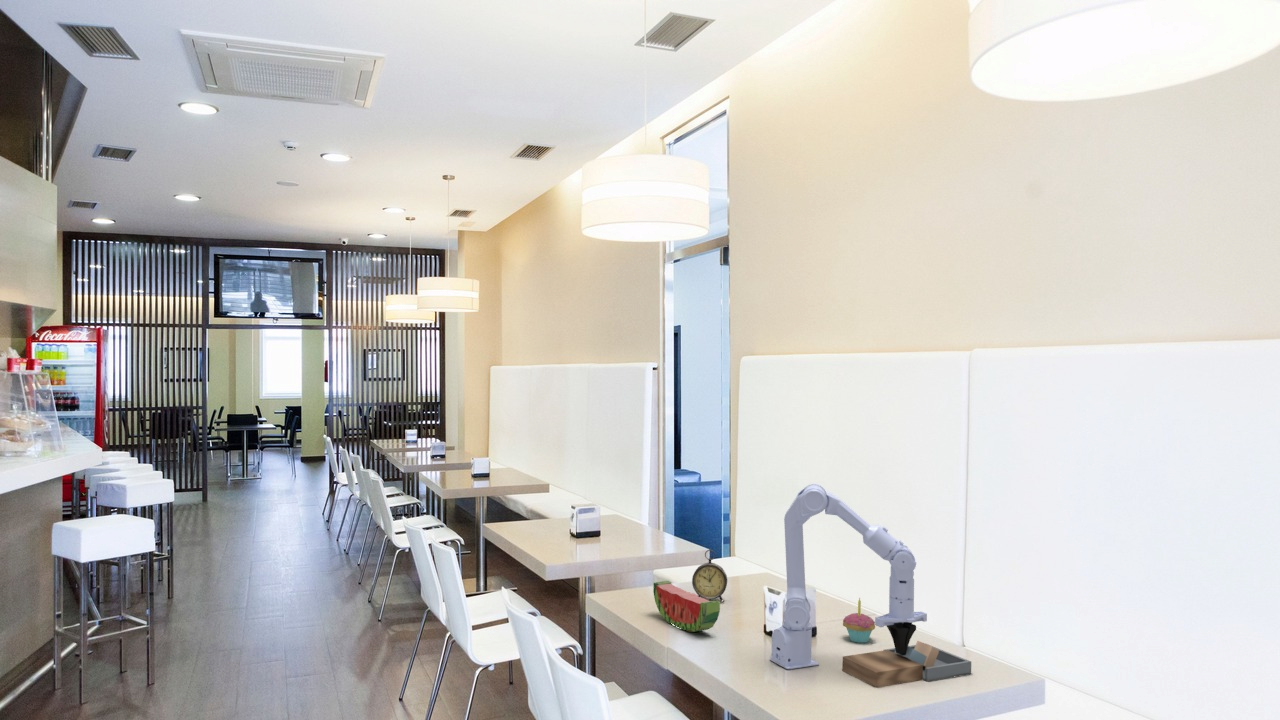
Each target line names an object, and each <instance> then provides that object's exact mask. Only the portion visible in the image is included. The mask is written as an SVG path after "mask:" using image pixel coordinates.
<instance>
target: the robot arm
mask: <svg viewBox="0 0 1280 720" xmlns="http://www.w3.org/2000/svg"><path fill="white" fill-rule="evenodd" d="M823 511H825V513H824V514H825V515H831V516H836V517H838V518H840V520H842V521H843V522H845V523H846V524H847V525H849V526H850V527H851V528H853V529H854V530H855V531H857V533H859V534H860V535H861V536H862V542H863V544H864V545H865V546H867V547H868V548H869V549H871V551H873V552H874V553H876V555H878V557H880V558H881V559H882V560H884V561H888V562H889V564H890V576H889V590H888V591H889V593H888V595H889V597H888V599H889V601H888V602H889V604H888V613H886V614H883V615H880V616H876V617H875V618H874V619H875V620H874V622H875V627H879V628H884V627H886V628H887V629H888V631H889V634H890V636H891V638H892V641H893V644H894V648H895V650H896V653H898V654H900V655H906V652H907V648H908V646H910V645H909V644H910V642H911V639H912V637H913V635H914V633H915V632H916V631H917V625H916V624H914V623H917V622H923V623H924V622H925V623H926V622H927V621H928V613H926V612H924V611H914V609H915V601H914V600H915V579H914V576H915V573H914V570H915V569H916V567H917V566H916V565H917V562H916V558H915V556H914V554H913V552H912V551H911V549H909V547H908V546H907V545H904V542H903V541H902V540H898V539H897V538H895V537H894V536H893V535H892V534H890V533H889V532H888V531H889V529H888V528H887V527H885V525H883V526H881V525H879V524H873V525H872V524H870V523H868V522H867V521H866V520H865V519H864V518H863V517H862V516H861V515H859V514H858V513H857V512H856V511H855V510H854V509H852V508H851V507H850V506H849V505H848V504H846V503H845V502H844V501H843V500H842V499H841V498H840V497H838V496H836V495H835V494H833V493H832V492H830V491H829V490H827V491H826V489H825V488H824V487H823V486H821V485H819V484H817V483H812V484H811V483H810V484H808V485H807V486H805V487H803V489H801V490H800V491H799V492H798V493H797V495H796V496H795V498H794V499H793V501H792V503H791V504H790V506H789V507H788V509H787V511H786V512H785V514H784V518H783V519H784V521H783V522H784V540H785V541H784V545H785V547H784V548H785V566H786V569H785V570H786V571H785V572H786V588H787V589H786V595H787V597H786V602H785V605H784V607H785V609H784V612H783V621H782V625H781V626H780V627H778V628H775V629H774V630H773V631H772V634H771V657H769V660H770V661H772V662H773V663H775V664H776V665H779V666H781V667H783V668H784V669H786V670H793V669H800V668H801V669H802V668H806V667H807V668H808V667H812V666H813V667H814V666H819V662H818V661H815V660H814V659H812V647H813V646H812V643H813V642H812V640H813V639H812V637H813V635H812V634H813V633H812V632H813V631H812V630H813V628H812V627H813V625H812V624H811V623H810V621H811V605H810V602H809V599H808V597H807V591H806V590H807V589H806V575H805V574H806V570H805V569H806V567H805V547H804V527H803V525H804V524H805V523H806V522H807V521H808V520H809V519H810V518H811V517H814V516H816V515H818V514H820V513H822V512H823Z"/></svg>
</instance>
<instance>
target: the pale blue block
mask: <svg viewBox="0 0 1280 720" xmlns="http://www.w3.org/2000/svg"><path fill="white" fill-rule="evenodd" d="M895 653H896V650H895ZM896 654H898V653H896ZM898 655H900V654H898ZM901 656H903V657H905V658H908V659H910V660H912V661H914V662H917V663H919V664H921V665H924V662H925V660H926V657H927V656H925V655H923V654H922V653H920V652H918V651H916V650H915V649H913V648H911V647H908V648H907V652H906V655H901Z"/></svg>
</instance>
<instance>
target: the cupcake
mask: <svg viewBox="0 0 1280 720" xmlns="http://www.w3.org/2000/svg"><path fill="white" fill-rule="evenodd" d="M857 603H858V604H857V612H854V613H850V614H848V615H847V616H846V615H845V617H844V618H843V620H842V626H843V627H845V629H846V630H847V633H848V636H849V639H850V640H849V641H851V642H853V643H858V644H866V643H868V642H869V640H870V637H871V634H872V632H873V630H875V629H876V625H875V620H874V619H873V618H872V617H870V616H869V615H867V614H864V613H861V609H862V607H861V606H862V605H861V604H862V601H861V597H859V598H858V601H857Z"/></svg>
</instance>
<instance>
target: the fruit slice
mask: <svg viewBox="0 0 1280 720" xmlns="http://www.w3.org/2000/svg"><path fill="white" fill-rule="evenodd" d="M652 587H653V589H652V590H653V591H652V592H653V596H654V601H655V605H656V607H657V609H658V613H659V614H660V615H661V617H663V618H664V619H665V620H666V622H667V623H668V624H669V623H672V624H674V625H675V626H677V627H679V628H681V629H683V630H682V631H685V630H686V632H689V633H691V632H700V631H707V630H710V629H712V628H714V626H715V624H716V622H717V621H718V618H719V616H720V611H721V601H719V600H709V599H704V598H702V597H698V594H697V593H692V592H690V591H687V590H685V589H682V588H681V587H678V586H675V585H674V584H672V582H671V581H670V580H664V581H657V582H656V581H655V582H653V586H652ZM681 629H680V630H681Z"/></svg>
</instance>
